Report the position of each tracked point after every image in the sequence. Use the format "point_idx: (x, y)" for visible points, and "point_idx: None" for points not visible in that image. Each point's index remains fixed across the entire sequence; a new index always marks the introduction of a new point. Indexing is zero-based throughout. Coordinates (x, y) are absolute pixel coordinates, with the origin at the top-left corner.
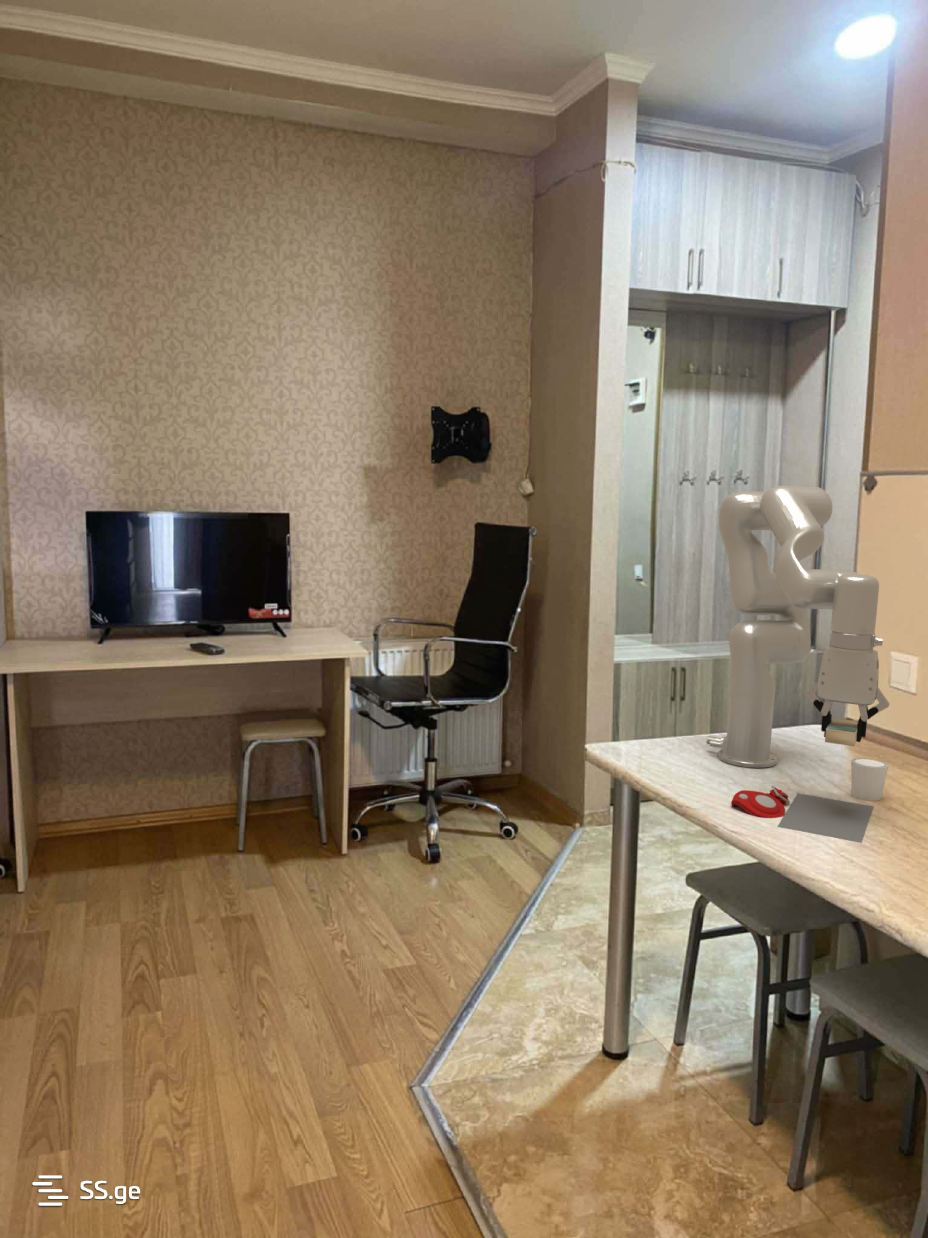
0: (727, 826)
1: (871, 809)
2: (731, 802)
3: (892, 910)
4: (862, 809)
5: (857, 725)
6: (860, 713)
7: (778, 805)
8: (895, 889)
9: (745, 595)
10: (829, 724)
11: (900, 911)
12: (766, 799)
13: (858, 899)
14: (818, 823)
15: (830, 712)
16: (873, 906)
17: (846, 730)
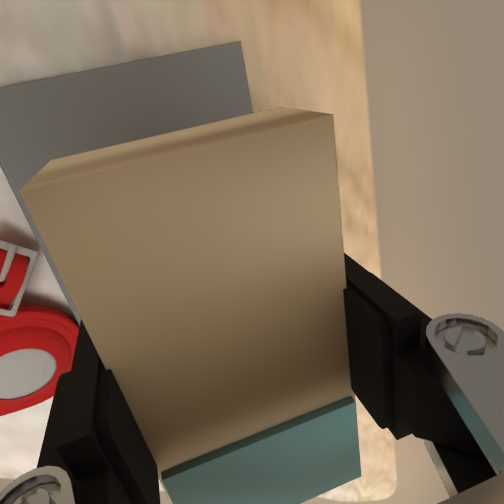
0: (27, 469)
1: (244, 84)
2: None
3: (370, 485)
4: (223, 108)
5: (366, 407)
6: (453, 495)
7: (55, 346)
8: (366, 439)
9: None
10: (169, 487)
11: (378, 480)
12: (18, 374)
13: (333, 495)
14: None
15: (111, 498)
16: (351, 494)
17: (313, 496)
